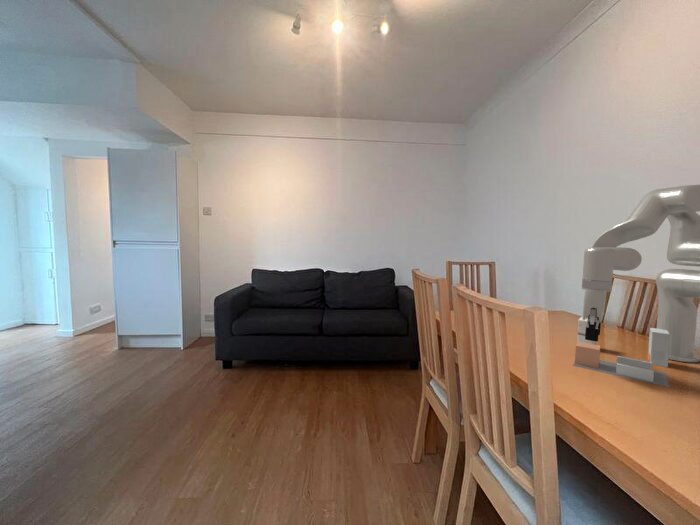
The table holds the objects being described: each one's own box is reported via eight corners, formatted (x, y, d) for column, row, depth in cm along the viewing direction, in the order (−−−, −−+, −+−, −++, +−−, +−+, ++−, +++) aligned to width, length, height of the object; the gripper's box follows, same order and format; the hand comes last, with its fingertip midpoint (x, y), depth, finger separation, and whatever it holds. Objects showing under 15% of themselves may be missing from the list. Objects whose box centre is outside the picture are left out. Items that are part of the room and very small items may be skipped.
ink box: (592, 353, 111) (594, 322, 111) (576, 349, 115) (577, 319, 114) (596, 347, 117) (598, 318, 116) (580, 344, 121) (582, 315, 120)
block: (576, 358, 104) (577, 341, 103) (599, 363, 100) (600, 345, 99) (574, 363, 100) (575, 345, 99) (598, 368, 96) (599, 350, 95)
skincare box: (647, 361, 104) (649, 327, 103) (664, 364, 101) (667, 329, 101) (649, 366, 99) (652, 331, 99) (668, 370, 97) (670, 334, 96)
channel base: (576, 357, 107) (577, 346, 107) (665, 376, 92) (666, 363, 92) (572, 368, 98) (573, 356, 98) (669, 390, 83) (670, 376, 83)
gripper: (584, 282, 106) (581, 329, 107) (579, 286, 94) (575, 340, 95) (612, 284, 101) (608, 334, 102) (610, 289, 89) (606, 346, 90)
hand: (592, 337), depth 99 cm, fingers open, 9 cm apart
